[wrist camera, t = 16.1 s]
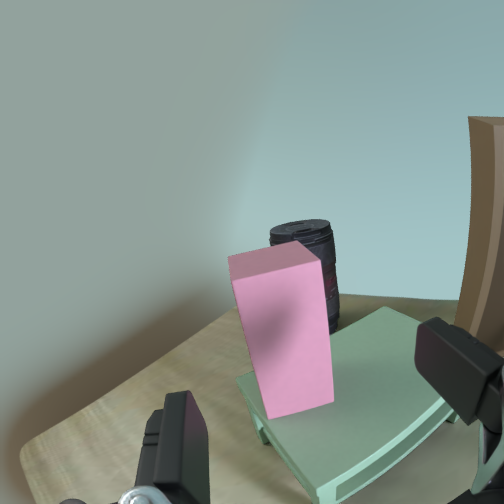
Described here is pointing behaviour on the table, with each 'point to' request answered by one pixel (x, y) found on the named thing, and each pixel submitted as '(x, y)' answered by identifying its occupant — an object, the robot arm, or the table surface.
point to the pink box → (285, 326)
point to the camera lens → (322, 246)
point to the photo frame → (485, 237)
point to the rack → (356, 410)
